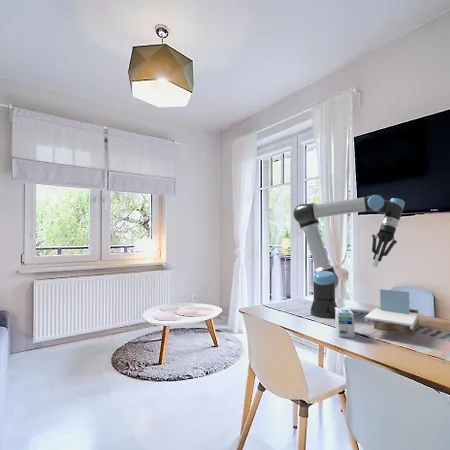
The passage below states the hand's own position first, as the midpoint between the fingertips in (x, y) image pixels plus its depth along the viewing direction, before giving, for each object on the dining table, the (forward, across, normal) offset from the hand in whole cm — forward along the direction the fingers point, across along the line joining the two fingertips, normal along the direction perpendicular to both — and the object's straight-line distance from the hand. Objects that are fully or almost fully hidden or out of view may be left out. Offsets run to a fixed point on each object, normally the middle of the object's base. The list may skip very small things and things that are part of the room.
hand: (374, 266), depth 169 cm
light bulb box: (+36, +8, -33) cm, 49 cm away
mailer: (+25, +21, -7) cm, 33 cm away
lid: (+22, +21, -20) cm, 36 cm away
